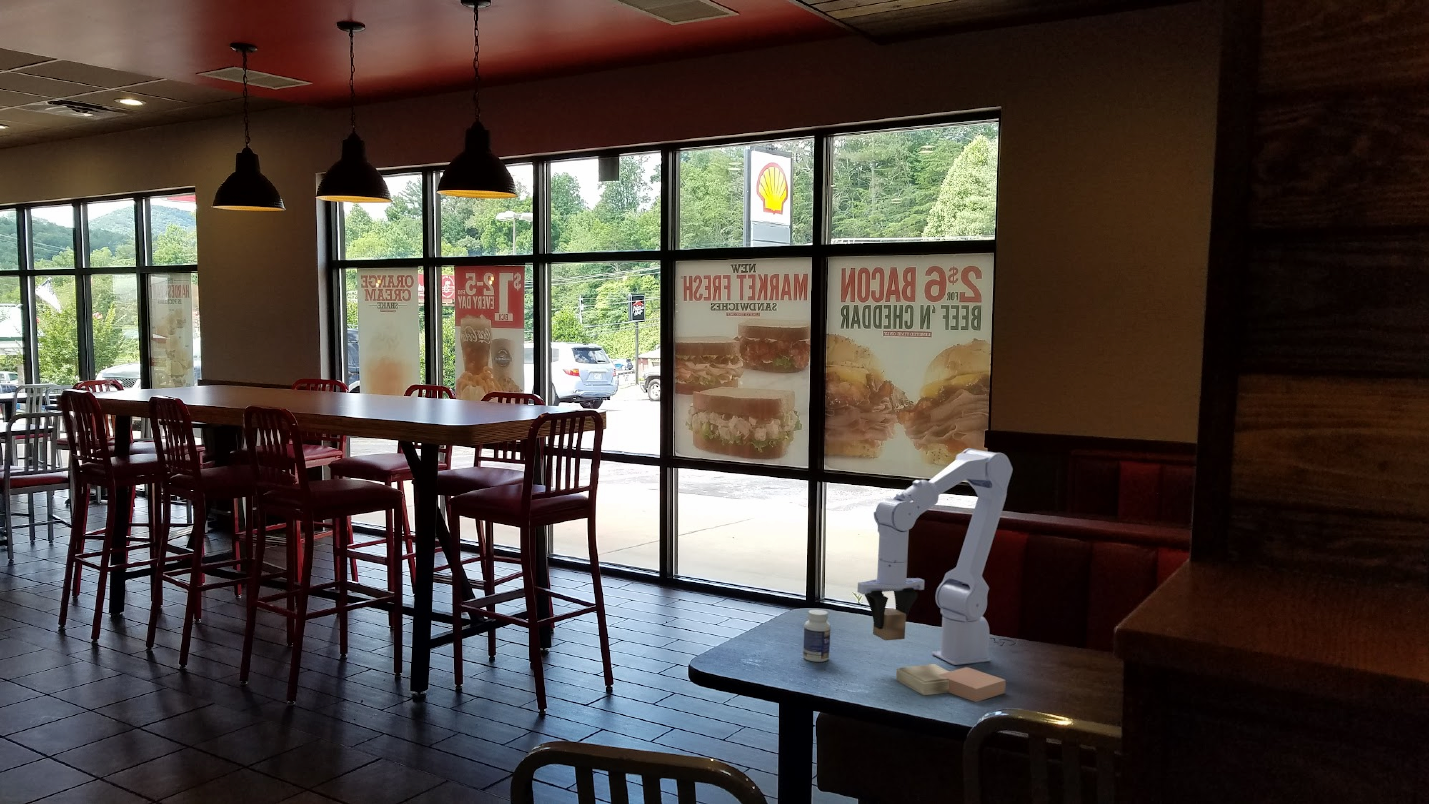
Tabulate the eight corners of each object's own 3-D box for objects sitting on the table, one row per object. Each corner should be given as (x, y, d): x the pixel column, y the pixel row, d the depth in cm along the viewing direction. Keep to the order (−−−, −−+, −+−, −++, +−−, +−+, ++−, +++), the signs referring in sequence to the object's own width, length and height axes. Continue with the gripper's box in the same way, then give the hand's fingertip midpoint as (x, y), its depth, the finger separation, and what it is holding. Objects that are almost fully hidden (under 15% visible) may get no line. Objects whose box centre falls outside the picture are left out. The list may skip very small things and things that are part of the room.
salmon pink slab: (966, 679, 199) (966, 666, 199) (1004, 692, 192) (1005, 680, 192) (936, 687, 193) (937, 675, 193) (975, 702, 186) (976, 688, 186)
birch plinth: (934, 675, 201) (934, 663, 201) (962, 690, 192) (963, 677, 192) (896, 679, 197) (896, 667, 197) (923, 695, 189) (924, 682, 189)
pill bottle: (827, 663, 205) (830, 616, 205) (801, 661, 206) (803, 614, 206) (830, 655, 211) (832, 609, 210) (804, 653, 212) (806, 607, 211)
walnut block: (891, 632, 205) (893, 608, 205) (904, 638, 201) (906, 614, 201) (872, 634, 203) (874, 609, 203) (885, 640, 199) (886, 615, 199)
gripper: (911, 553, 208) (908, 618, 209) (850, 557, 202) (847, 624, 203) (931, 560, 201) (928, 627, 202) (869, 564, 195) (866, 634, 196)
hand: (889, 626), depth 202 cm, fingers closed on walnut block, 4 cm apart
